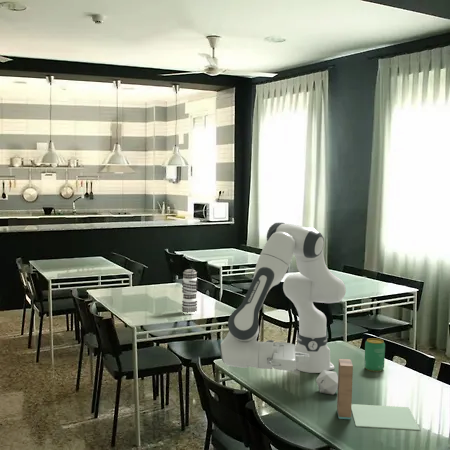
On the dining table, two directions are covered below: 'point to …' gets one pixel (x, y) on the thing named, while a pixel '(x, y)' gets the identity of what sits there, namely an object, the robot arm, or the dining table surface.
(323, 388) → the die
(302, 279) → the robot arm
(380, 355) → the beverage can
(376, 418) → the green mat
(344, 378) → the walnut block
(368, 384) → the dining table surface
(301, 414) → the dining table surface
